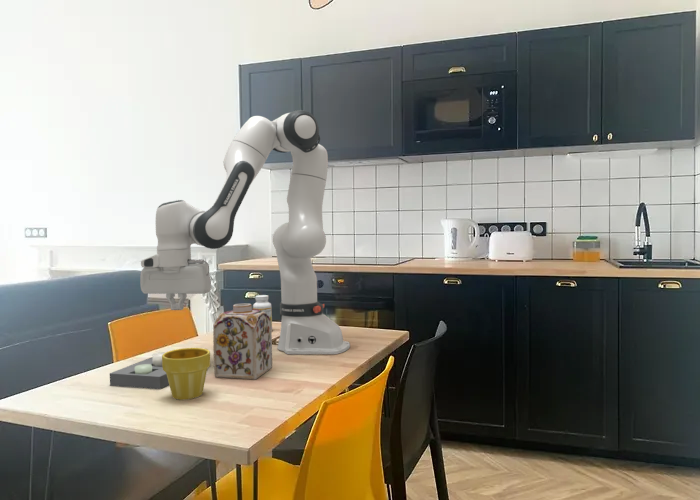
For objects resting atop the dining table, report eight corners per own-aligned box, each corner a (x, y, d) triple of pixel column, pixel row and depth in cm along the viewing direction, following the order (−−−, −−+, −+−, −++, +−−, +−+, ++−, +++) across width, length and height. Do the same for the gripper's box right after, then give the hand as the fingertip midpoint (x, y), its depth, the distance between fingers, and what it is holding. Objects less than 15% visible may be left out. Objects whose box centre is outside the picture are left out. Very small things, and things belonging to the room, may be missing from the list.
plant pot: (197, 404, 117) (196, 359, 116) (154, 401, 119) (152, 357, 118) (218, 389, 127) (217, 348, 126) (178, 387, 129) (177, 346, 129)
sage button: (155, 376, 134) (155, 364, 134) (145, 381, 130) (145, 368, 130) (142, 375, 135) (141, 363, 135) (131, 380, 132) (131, 367, 131)
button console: (207, 366, 148) (206, 355, 148) (160, 389, 128) (159, 376, 128) (162, 363, 152) (162, 353, 152) (110, 385, 132) (109, 373, 131)
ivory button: (172, 364, 141) (171, 352, 141) (163, 368, 137) (162, 356, 137) (159, 363, 142) (158, 352, 142) (149, 367, 138) (149, 355, 138)
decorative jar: (256, 380, 134) (254, 308, 133) (212, 378, 137) (210, 307, 136) (273, 367, 145) (272, 301, 145) (233, 366, 148) (231, 300, 147)
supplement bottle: (254, 329, 199) (253, 294, 199) (272, 329, 200) (272, 294, 199) (252, 333, 193) (251, 297, 192) (271, 332, 193) (270, 296, 192)
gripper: (214, 258, 149) (216, 308, 150) (149, 259, 155) (152, 307, 155) (202, 260, 143) (205, 312, 144) (135, 261, 149) (138, 311, 149)
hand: (177, 309), depth 150 cm, fingers closed
